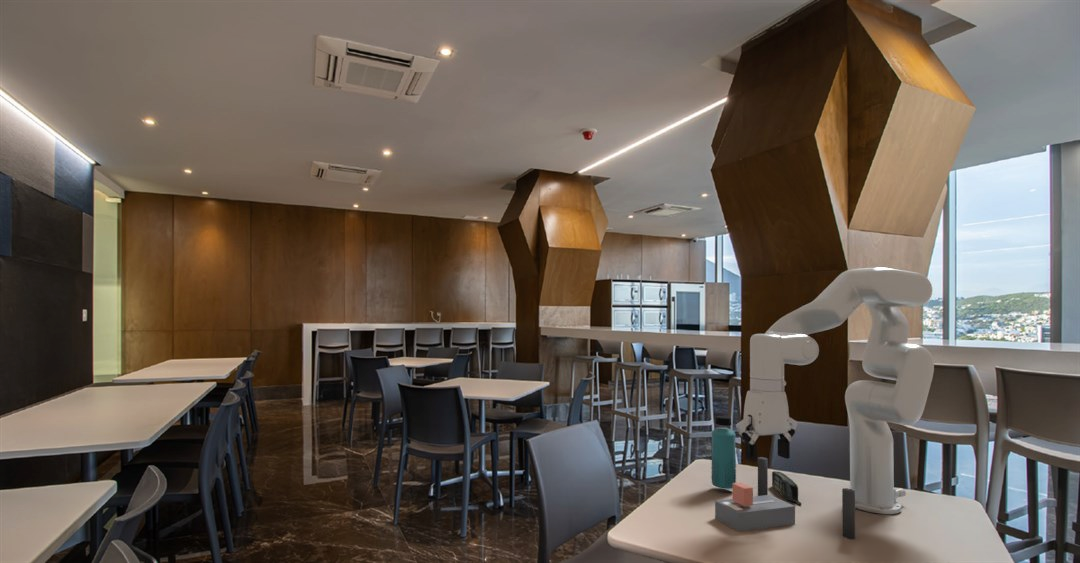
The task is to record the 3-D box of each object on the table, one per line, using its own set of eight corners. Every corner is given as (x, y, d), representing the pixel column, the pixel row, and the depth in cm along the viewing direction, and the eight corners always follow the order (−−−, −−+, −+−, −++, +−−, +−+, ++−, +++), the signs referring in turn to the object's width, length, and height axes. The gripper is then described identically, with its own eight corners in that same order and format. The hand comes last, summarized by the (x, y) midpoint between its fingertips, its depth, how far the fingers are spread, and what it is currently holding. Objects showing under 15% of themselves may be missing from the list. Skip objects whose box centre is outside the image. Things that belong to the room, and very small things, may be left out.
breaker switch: (740, 499, 126) (740, 482, 126) (752, 505, 122) (752, 487, 122) (732, 500, 125) (732, 483, 125) (744, 506, 121) (744, 488, 122)
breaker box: (769, 511, 131) (769, 494, 131) (795, 523, 124) (795, 505, 124) (715, 518, 126) (715, 500, 126) (738, 531, 118) (738, 512, 118)
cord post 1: (762, 495, 143) (763, 457, 144) (769, 498, 141) (769, 459, 141) (755, 495, 142) (755, 457, 143) (762, 498, 140) (762, 460, 141)
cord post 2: (848, 533, 119) (847, 487, 119) (857, 538, 116) (857, 491, 117) (839, 535, 118) (839, 488, 118) (849, 539, 115) (849, 492, 116)
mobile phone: (769, 469, 151) (792, 485, 136) (780, 470, 151) (804, 485, 136) (770, 487, 151) (792, 505, 136) (781, 488, 150) (804, 506, 136)
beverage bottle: (738, 495, 142) (738, 419, 143) (712, 493, 143) (712, 417, 144) (734, 487, 148) (734, 415, 149) (709, 485, 150) (709, 413, 151)
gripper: (783, 382, 134) (784, 452, 133) (726, 384, 128) (726, 457, 127) (807, 387, 127) (808, 460, 126) (748, 389, 121) (748, 466, 120)
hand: (767, 458), depth 127 cm, fingers open, 9 cm apart
